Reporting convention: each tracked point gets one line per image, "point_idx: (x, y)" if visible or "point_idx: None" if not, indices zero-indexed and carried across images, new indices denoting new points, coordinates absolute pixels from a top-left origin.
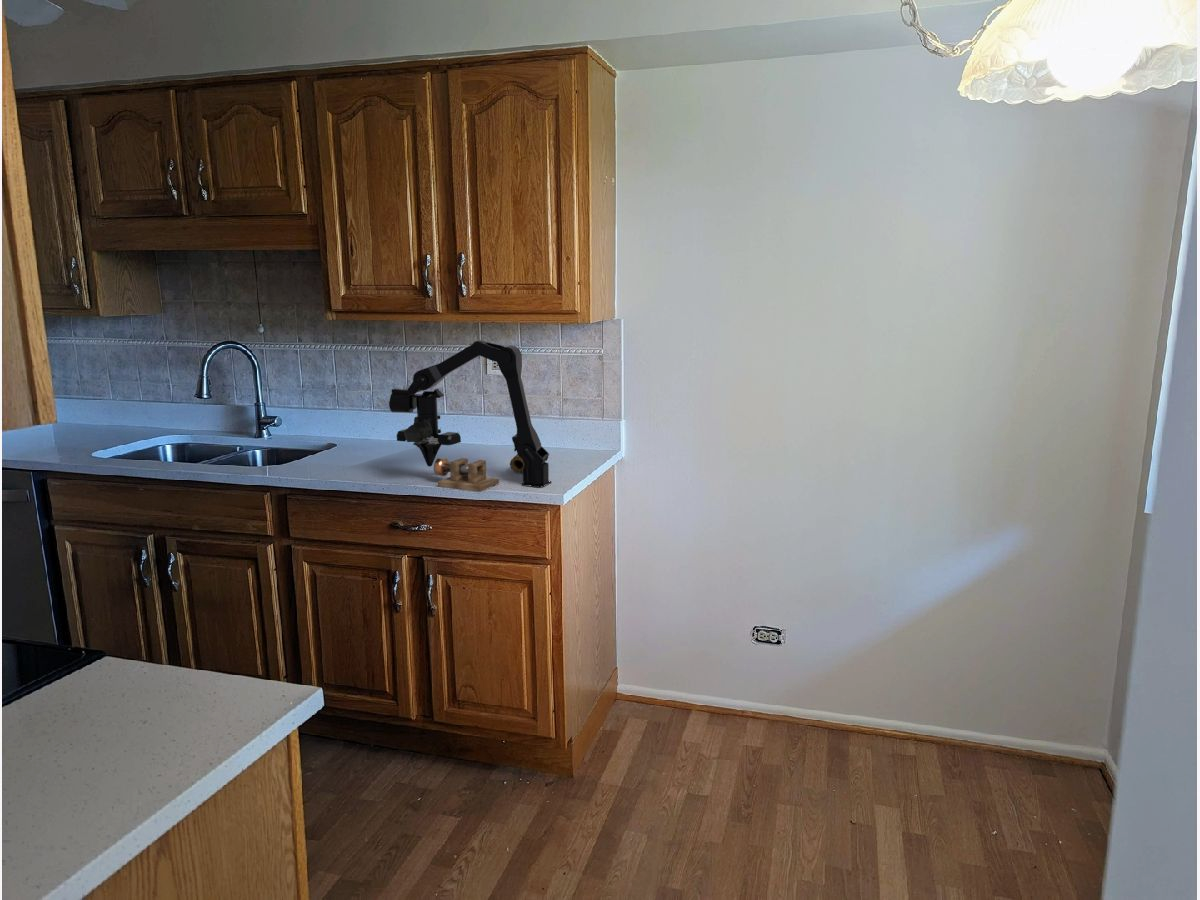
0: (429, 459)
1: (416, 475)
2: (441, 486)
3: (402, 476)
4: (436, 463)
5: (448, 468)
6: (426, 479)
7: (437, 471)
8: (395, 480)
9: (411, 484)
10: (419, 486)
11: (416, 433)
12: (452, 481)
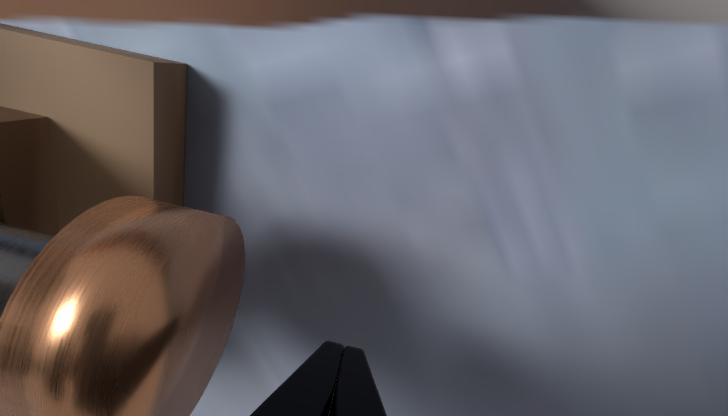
0: (285, 406)
1: (553, 408)
2: (142, 54)
3: (675, 368)
4: (113, 270)
5: (4, 236)
6: (417, 303)
7: (170, 203)
8: (715, 223)
9: (487, 97)
10: (369, 32)
11: None
12: (21, 103)
